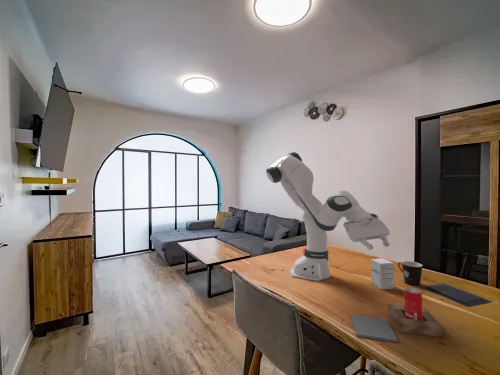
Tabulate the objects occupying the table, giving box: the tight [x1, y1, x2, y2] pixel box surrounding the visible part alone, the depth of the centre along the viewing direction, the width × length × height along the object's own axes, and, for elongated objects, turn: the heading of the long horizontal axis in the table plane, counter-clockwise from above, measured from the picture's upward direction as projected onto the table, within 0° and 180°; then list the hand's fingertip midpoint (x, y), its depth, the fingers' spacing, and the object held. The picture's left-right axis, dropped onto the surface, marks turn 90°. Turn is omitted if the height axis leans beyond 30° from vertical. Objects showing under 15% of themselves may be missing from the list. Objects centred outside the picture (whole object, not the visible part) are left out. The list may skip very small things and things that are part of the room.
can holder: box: [387, 303, 445, 338], centre depth 85 cm, size 13×13×3 cm
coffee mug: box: [397, 260, 423, 287], centre depth 120 cm, size 12×9×10 cm
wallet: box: [421, 283, 493, 308], centre depth 107 cm, size 20×2×15 cm
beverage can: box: [404, 287, 423, 321], centre depth 85 cm, size 5×5×12 cm
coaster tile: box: [350, 314, 398, 343], centre depth 82 cm, size 12×12×1 cm
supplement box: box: [370, 257, 395, 290], centre depth 116 cm, size 7×7×13 cm
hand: (379, 247), depth 96 cm, fingers open, 8 cm apart
